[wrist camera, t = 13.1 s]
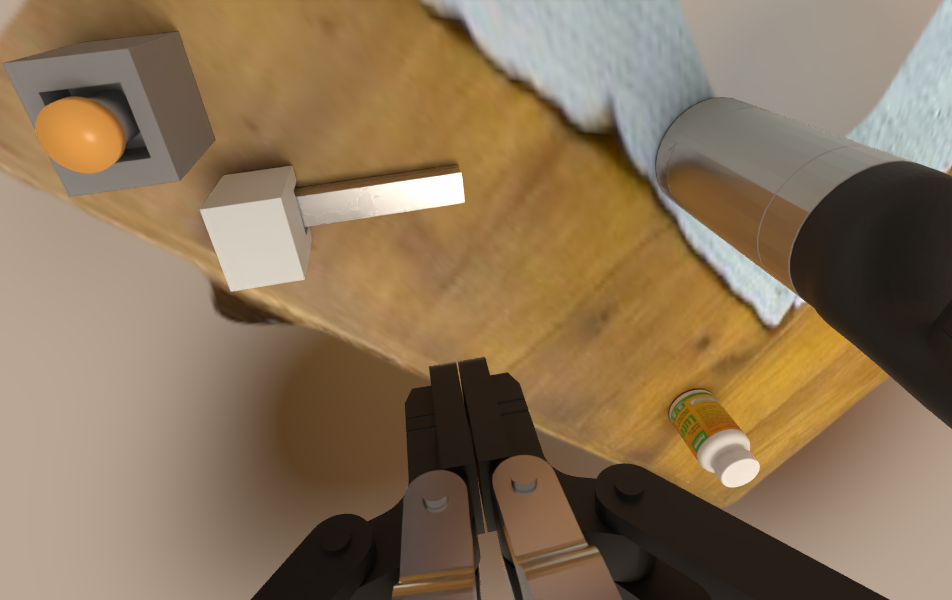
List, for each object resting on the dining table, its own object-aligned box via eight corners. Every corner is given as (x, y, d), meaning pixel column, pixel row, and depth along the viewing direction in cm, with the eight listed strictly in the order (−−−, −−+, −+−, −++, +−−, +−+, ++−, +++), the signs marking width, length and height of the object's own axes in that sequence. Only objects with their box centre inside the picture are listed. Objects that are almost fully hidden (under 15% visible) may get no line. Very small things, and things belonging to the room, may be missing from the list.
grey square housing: (178, 31, 36) (128, 48, 28) (216, 142, 39) (181, 184, 32) (80, 42, 35) (1, 63, 27) (128, 154, 39) (70, 200, 31)
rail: (457, 164, 43) (461, 172, 42) (461, 193, 44) (464, 202, 43) (221, 199, 41) (215, 208, 40) (231, 228, 43) (226, 239, 41)
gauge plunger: (135, 78, 31) (99, 95, 27) (160, 142, 33) (130, 167, 29) (67, 86, 31) (20, 105, 26) (97, 150, 33) (57, 178, 28)
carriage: (292, 165, 41) (280, 197, 35) (312, 238, 44) (304, 279, 38) (222, 175, 40) (199, 209, 35) (248, 248, 44) (230, 291, 38)
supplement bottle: (671, 391, 60) (720, 458, 52) (717, 384, 61) (772, 449, 53) (664, 428, 63) (709, 496, 55) (708, 421, 64) (759, 488, 55)
